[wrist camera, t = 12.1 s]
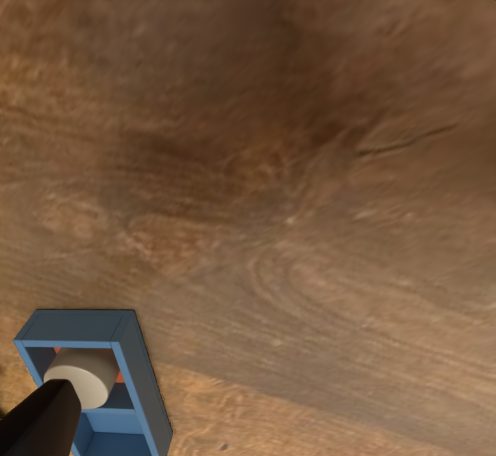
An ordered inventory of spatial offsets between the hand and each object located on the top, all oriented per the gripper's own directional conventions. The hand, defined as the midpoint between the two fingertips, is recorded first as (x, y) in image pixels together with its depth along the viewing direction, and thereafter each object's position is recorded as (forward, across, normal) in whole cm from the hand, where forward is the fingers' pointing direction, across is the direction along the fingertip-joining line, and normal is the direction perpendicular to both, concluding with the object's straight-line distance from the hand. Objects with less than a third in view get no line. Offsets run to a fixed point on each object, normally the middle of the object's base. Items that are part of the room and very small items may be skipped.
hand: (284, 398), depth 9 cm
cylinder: (+11, +12, +12) cm, 20 cm away
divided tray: (+12, +12, +14) cm, 23 cm away
